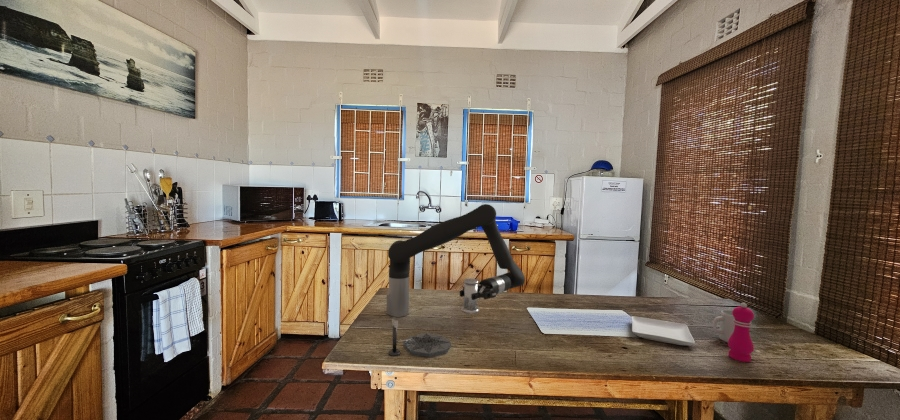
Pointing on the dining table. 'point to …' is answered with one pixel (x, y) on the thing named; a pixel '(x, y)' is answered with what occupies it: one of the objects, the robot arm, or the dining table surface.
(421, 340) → the grey octagonal star trivet
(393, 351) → the stand
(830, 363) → the dining table surface
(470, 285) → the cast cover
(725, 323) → the mug
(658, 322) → the salad plate
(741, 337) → the pepper mill
